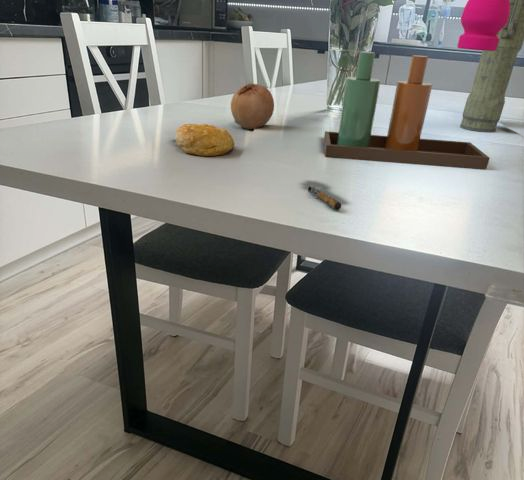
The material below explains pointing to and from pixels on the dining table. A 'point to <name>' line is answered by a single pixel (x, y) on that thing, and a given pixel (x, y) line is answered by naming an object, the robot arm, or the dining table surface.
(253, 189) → the dining table surface
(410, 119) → the amber bottle
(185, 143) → the bread roll
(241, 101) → the onion
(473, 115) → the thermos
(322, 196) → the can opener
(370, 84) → the green bottle
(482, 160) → the tray
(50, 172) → the dining table surface
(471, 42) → the pepper mill
